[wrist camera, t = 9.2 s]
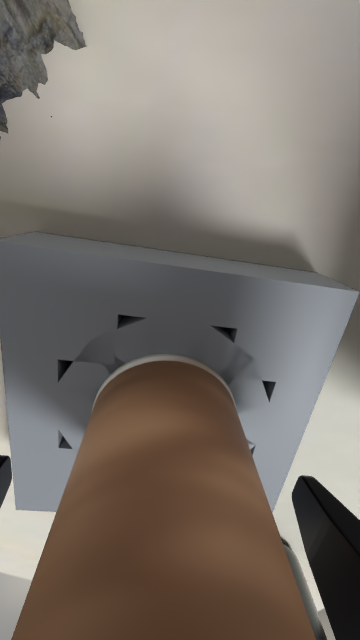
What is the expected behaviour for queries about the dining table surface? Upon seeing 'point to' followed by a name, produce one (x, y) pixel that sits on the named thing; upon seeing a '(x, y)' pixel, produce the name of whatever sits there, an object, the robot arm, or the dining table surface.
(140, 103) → the dining table surface
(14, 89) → the driftwood
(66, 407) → the board
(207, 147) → the dining table surface
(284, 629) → the peg
